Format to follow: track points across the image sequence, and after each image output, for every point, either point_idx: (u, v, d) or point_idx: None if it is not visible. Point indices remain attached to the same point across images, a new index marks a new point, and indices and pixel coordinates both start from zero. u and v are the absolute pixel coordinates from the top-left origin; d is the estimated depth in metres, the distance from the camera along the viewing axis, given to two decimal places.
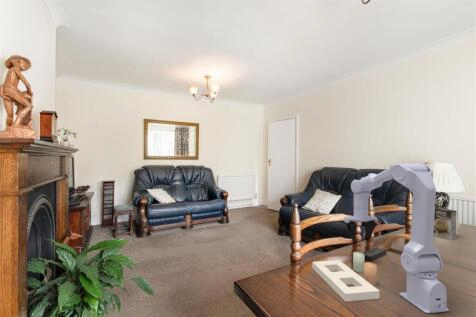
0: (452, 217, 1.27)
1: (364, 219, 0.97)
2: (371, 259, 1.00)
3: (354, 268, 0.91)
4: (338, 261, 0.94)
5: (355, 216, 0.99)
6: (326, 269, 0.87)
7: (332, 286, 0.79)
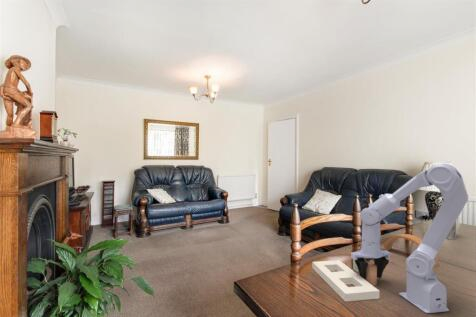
0: None
1: (375, 256, 0.80)
2: (369, 258, 1.01)
3: (354, 268, 0.91)
4: (338, 261, 0.94)
5: (364, 251, 0.82)
6: (326, 269, 0.87)
7: (332, 286, 0.79)
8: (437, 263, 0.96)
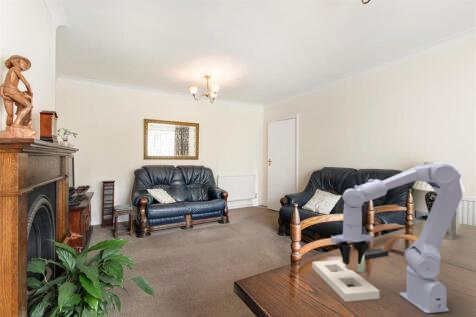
0: None
1: (356, 239, 0.75)
2: (366, 257, 1.01)
3: None
4: (338, 261, 0.94)
5: (345, 235, 0.78)
6: (326, 269, 0.87)
7: (332, 286, 0.79)
8: None
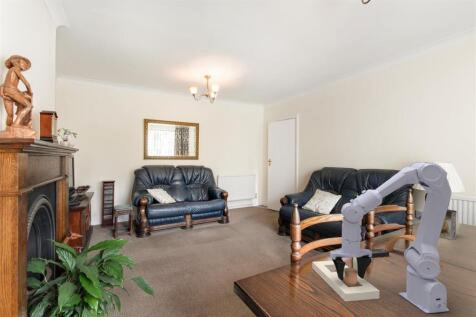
0: (452, 217, 1.27)
1: (355, 255, 0.75)
2: None
3: (354, 268, 0.91)
4: None
5: (344, 250, 0.77)
6: (326, 269, 0.87)
7: (332, 286, 0.79)
8: (439, 264, 0.95)
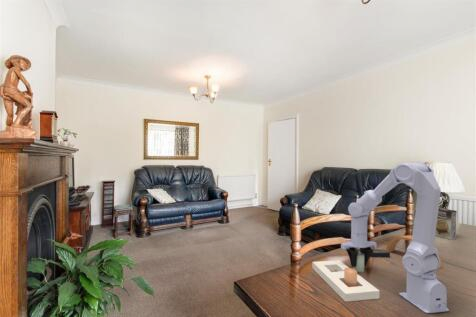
0: (452, 217, 1.27)
1: (362, 246, 0.89)
2: None
3: (354, 268, 0.91)
4: (338, 261, 0.94)
5: (353, 242, 0.91)
6: (326, 269, 0.87)
7: (332, 286, 0.79)
8: (441, 265, 0.94)
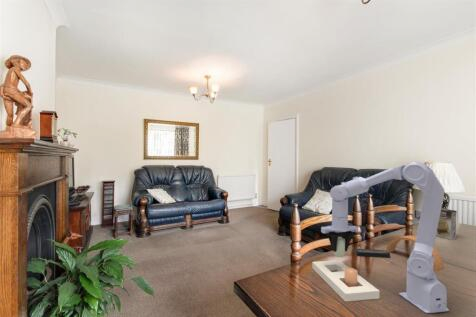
0: (452, 217, 1.27)
1: (343, 229, 0.86)
2: (359, 254, 1.05)
3: (334, 253, 0.89)
4: (338, 261, 0.94)
5: (333, 226, 0.88)
6: (326, 269, 0.87)
7: (332, 286, 0.79)
8: (442, 265, 0.94)
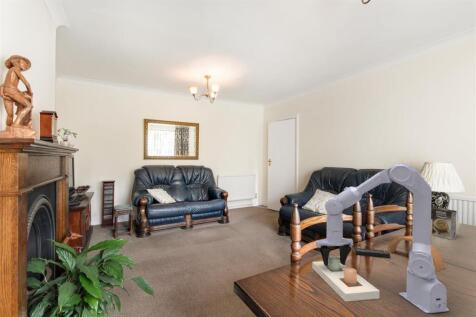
0: (452, 217, 1.27)
1: (337, 244, 0.85)
2: (357, 253, 1.06)
3: None
4: None
5: (328, 240, 0.87)
6: (326, 269, 0.87)
7: (332, 286, 0.79)
8: (443, 266, 0.93)
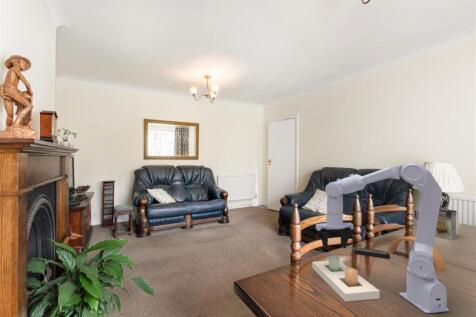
0: (452, 217, 1.27)
1: (337, 226, 0.85)
2: (356, 252, 1.07)
3: None
4: None
5: (328, 223, 0.87)
6: (326, 269, 0.87)
7: (332, 286, 0.79)
8: (444, 267, 0.93)
